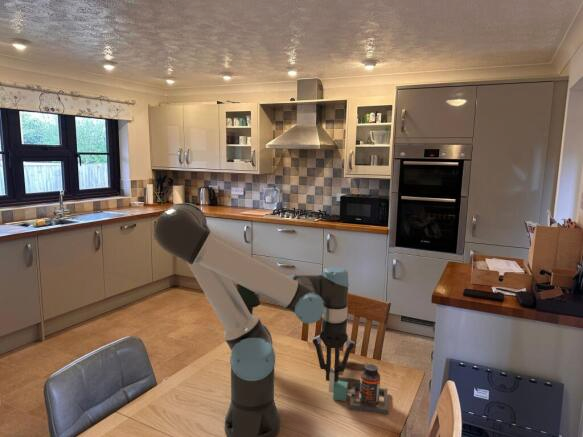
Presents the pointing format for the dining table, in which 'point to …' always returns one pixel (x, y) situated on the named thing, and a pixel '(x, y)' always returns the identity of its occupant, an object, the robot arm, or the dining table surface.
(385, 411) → the socket collar
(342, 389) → the pin
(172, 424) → the dining table surface
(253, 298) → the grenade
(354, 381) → the open box
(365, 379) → the supplement bottle
